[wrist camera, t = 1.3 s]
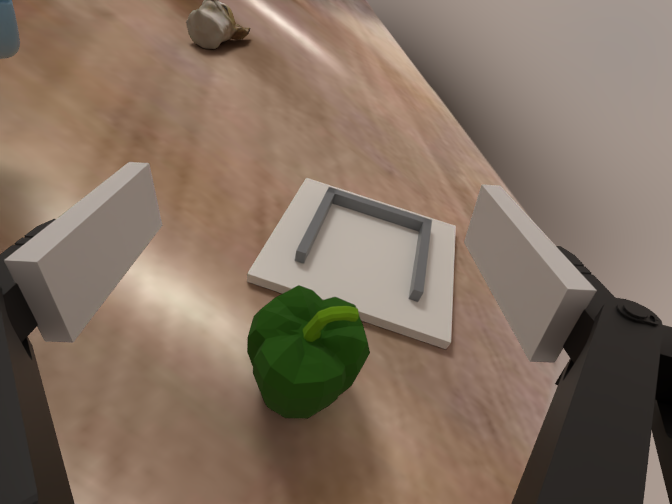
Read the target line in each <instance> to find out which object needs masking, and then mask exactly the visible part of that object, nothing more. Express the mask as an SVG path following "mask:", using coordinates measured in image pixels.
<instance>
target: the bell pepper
mask: <svg viewBox="0 0 672 504" xmlns="http://www.w3.org/2000/svg"><path fill="white" fill-rule="evenodd" d="M247 352H248V355H249V357H250V360H251V363H252V365H253V375H254V377H255V379H256V382H257V384H258V387H259V389H260V392H261V394H262V397H263V399H264V402H265V404H266V405H267V407H268V408H270V409H271V410H273V411H275V412H276V413H278V414H280V415H281V416H283V417H285V418H309V417H311V416H312V415H314V414H316V413H317V412H319V411H321V410H322V409H324V408H326V407H327V406H329V405H330V404H331V403H333V402H334V401H335V400H336V399H337V398H338V396H339V395H341V394H342V393H343V392H344V391H346V390H347V389H348V388H349V387H350V386H352V384H353V382H354V380H355V379H356V377H357V375H358V373H359V372H360V370H361V368H362V367H363V365H364V363H365V361H366V359H367V357H368V355H369V354H370V351H369V347H368V342H367V338H366V334H365V331H364V327H363V324H362V322H361V319H360V316H359V313H358V308H356V305H354V304H352V303H349V302H347V301H345V300H342V299H340V298H338V297H332V298H329V299H325V300H322V299H321V298H320V297H319V296H318V295H317V294H316V293H315V292H314V291H313V290H311V289H308V288H305V287H303V286H300V285H298V286H296V287H294V288H292V289H290V290H289V291H287V292H285V293H283V294H281V295H279V296H278V297H276V298H274V299H273V300H272V301H271V302H269V303H268V304H267V305H266V306H264V307H263V308H262V309H261V310H260V311H259V312H258V313H257V314H256V315H255V316H254V318H253V321H252V325H251V328H250V331H249V335H248V348H247Z"/></svg>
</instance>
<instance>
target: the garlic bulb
mask: <svg viewBox="0 0 672 504" xmlns="http://www.w3.org/2000/svg"><path fill="white" fill-rule="evenodd" d="M186 23H187V28H188V33H189V35H190V37H191V39H192V41H193V42H194V43H196V44H197V45H199V46H201V47H202V48H205V49H216V48H217V47H218V46H219V45H220V43H221V42H225V41H227V40H229V39H235V40H238V39H243V38H244V37H246V36H247V35H248V33H249V31H250V28H243V27H242V26H240V25H236V22H235V20H234V16H233V13H232V11H231V9H230V8H229V7H228V6H227V5H226V4H224V3H221V2H219V1H218V0H204V1H203V3H202V5H201V6H200V8H199V9H197V10H194V11H192V12H191V13H190V15H189V17H188V20H187V21H186Z"/></svg>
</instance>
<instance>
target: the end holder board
mask: <svg viewBox="0 0 672 504" xmlns="http://www.w3.org/2000/svg"><path fill="white" fill-rule="evenodd" d="M455 229H456V226H454V225H451V224H448V223H445V222H442V221H439V220H436V219H433V218H429V217H426V216H423V215H420V214H417V213H414V212H411V211H408V210H405V209H402V208H398V207H395V206H392V205H389V204H386V203H383V202H380V201H377V200H374V199H371V198H367V197H364V196H361V195H358V194H355V193H352V192H349V191H346V190H343V189H340V188H337V187H333V186H330V185H327V184H324V183H321V182H318V181H315V180H312V179H309V178H306V179H305V181H304V182H303V184H302V186H301V187H300V189H299V191H298V192H297V194H296V195H295V197H294V199H293V200H292V202H291V204H290V205H289V207H288V208H287V210H286V212H285V213H284V215H283V217H282V218H281V220H280V221H279V223H278V225H277V226H276V228H275V230H274V231H273V233H272V234H271V236H270V238H269V239H268V241H267V243H266V244H265V246H264V247H263V249H262V251H261V252H260V254H259V256H258V257H257V259H256V260H255V262H254V264H253V265H252V267H251V269H250V270H249V272H248V273H247V282H250V283H252V284H255V285H258V286H261V287H264V288H267V289H270V290H273V291H276V292H279V293H282V294H283V293H285V292H287V291H289V290H290V289H292V288H294V287H296V286H298V285H300V286H303V287H305V288H308V289H311V290H313V291H314V292H315V293H316V294H317V295H318V296H319V297H320V298H321V299H322V300H325V299H329V298H332V297H338V298H340V299H342V300H345V301H347V302H349V303H352V304H354V305H356V308H358V313H359V316H360V319H361V321H364V322H367V323H370V324H373V325H376V326H379V327H382V328H385V329H388V330H391V331H393V332H396V333H399V334H402V335H405V336H408V337H411V338H414V339H417V340H420V341H423V342H426V343H429V344H432V345H435V346H438V347H440V348H443V349H446V348H447V347H448V346H449V345H450V343H451V330H452V305H453V280H454V254H455Z"/></svg>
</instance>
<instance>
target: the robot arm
mask: <svg viewBox="0 0 672 504" xmlns="http://www.w3.org/2000/svg"><path fill="white" fill-rule="evenodd" d="M19 46H20V39H19V32H18V26H17V21H16V16H15V12H14V8H13V3H12V0H0V59H3V58H9V57H12V56H14V55H15V54H16V53H17V51H18V49H19ZM161 226H162V221H161V217H160V212H159V207H158V202H157V198H156V193H155V188H154V184H153V179H152V174H151V169H150V165H149V163H136V162H128V163H127V164H126V165H125V166H123V167H122V168H121V169H119V170H118V171H117V172H116V173H114V174H113V175H112V176H111V177H109V178H108V179H107V180H105V181H104V182H103V183H102V184H100V185H99V186H98V187H97V188H95V189H94V190H93V191H91V192H90V193H89V194H88V195H86V196H85V197H84V198H83V199H81V200H80V201H79V202H77V203H76V204H75V205H74V206H72V207H71V208H70V209H69V210H67V211H66V212H65V213H63V214H62V215H61V216H60V217H58V218H57V219H53V220H50V221H48V222H46V223H44V224H41V225H39V226H37V227H36V228H34V229H33V230H32V231H30V232H29V233H28V234H26V235H25V238H21V239H20V240H18V241H17V242H16V243H15V245H12V246H10V247H9V248H8V249H6V250H5V251H4V252H3V253H1V254H0V504H74V500H73V496H72V493H71V489H70V485H69V481H68V478H67V474H66V470H65V466H64V463H63V459H62V455H61V451H60V448H59V444H58V440H57V436H56V433H55V429H54V425H53V421H52V418H51V414H50V410H49V406H48V403H47V399H46V395H45V391H44V388H43V384H42V380H41V376H40V373H39V369H38V365H37V361H36V358H35V354H34V350H33V346H32V344H31V342H30V340H29V338H28V337H27V336H28V335H29V334H30V333H31V332H32V331H33V330H34V329H35V327H36V326H37V327H38V329H39V331H40V333H41V335H42V336H43V338H44V340H45V341H51V342H74V341H75V339H76V338H77V337H78V335H79V334H80V333H81V332H82V330H83V329H84V328H85V326H86V325H87V324H88V322H89V321H90V320H91V318H92V317H93V316H94V314H95V313H96V312H97V311H98V309H99V308H100V307H101V305H102V304H103V303H104V301H105V300H106V299H107V297H108V296H109V295H110V293H111V292H112V291H113V290H114V288H115V287H116V286H117V284H118V283H119V282H120V280H121V279H122V278H123V276H124V275H125V274H126V272H127V271H128V270H129V268H130V267H131V266H132V265H133V263H134V262H135V261H136V259H137V258H138V257H139V255H140V254H141V253H142V251H143V250H144V249H145V247H146V246H147V245H148V244H149V242H150V241H151V240H152V238H153V237H154V236H155V234H156V233H157V232H158V230H159V229H160V228H161ZM464 243H465V245H466V247H467V249H468V250H469V252H470V254H471V256H472V258H473V260H474V261H475V263H476V265H477V267H478V269H479V270H480V272H481V274H482V276H483V278H484V280H485V281H486V283H487V285H488V287H489V289H490V290H491V292H492V294H493V296H494V298H495V299H496V301H497V303H498V305H499V307H500V309H501V310H502V312H503V314H504V316H505V318H506V319H507V321H508V323H509V325H510V327H511V329H512V330H513V332H514V334H515V336H516V338H517V339H518V341H519V343H520V345H521V347H522V349H523V350H524V352H525V354H526V356H527V358H528V359H529V361H532V362H555V361H556V359H557V358H558V356H559V354H560V353H561V351H562V349H563V348H564V349H565V351H566V352H567V354H568V355H569V357H570V360H569V362H568V363H567V365H566V367H565V368H564V370H563V371H562V373H561V375H560V376H559V378H558V380H557V381H556V383H555V384H556V385H558V387H557V389H556V392H555V394H554V397H553V399H552V402H551V405H550V407H549V410H548V412H547V415H546V417H545V420H544V422H543V425H542V427H541V430H540V432H539V435H538V438H537V440H536V443H535V445H534V448H533V450H532V453H531V455H530V458H529V460H528V463H527V466H526V468H525V471H524V473H523V476H522V478H521V481H520V483H519V486H518V488H517V491H516V494H515V496H514V499H513V501H512V504H643V499H644V491H645V482H646V473H647V465H648V456H649V447H650V438H651V429H652V433H653V437H654V441H655V445H656V449H657V453H658V457H659V462H660V465H661V469H662V473H663V478H664V481H665V486H666V490H667V493H668V498H669V502H670V504H672V327H669V326H665V325H662V321H661V320H660V319H659V318H658V317H657V315H655V314H654V313H653V312H652V311H650V310H649V309H648V308H646V307H644V306H642V305H640V304H638V303H636V302H633V301H630V300H626V299H620V298H615V297H614V296H613V295H612V294H611V293H610V292H609V291H608V290H607V288H605V286H604V285H603V284H601V282H600V281H599V280H598V279H597V278H596V277H595V276H594V275H591V272H590V271H589V270H588V269H587V268H586V267H584V265H583V264H582V262H580V260H579V259H578V258H577V257H576V256H575V255H573V254H572V253H570V252H569V251H567V250H565V249H564V248H562V247H560V246H555V245H554V244H553V243H552V241H551V240H550V239H549V238H548V237H547V236H546V235H545V234H544V233H543V232H542V230H541V229H540V228H539V227H538V226H537V225H536V224H535V223H534V222H533V221H532V220H531V219H530V217H529V216H528V215H527V214H526V213H525V212H524V211H523V210H522V209H521V208H520V207H519V205H518V204H517V203H516V202H515V201H514V200H513V199H512V198H511V197H510V196H509V195H508V193H507V192H506V191H505V190H504V189H503V188H502V187H501V186H498V185H481V188H480V192H479V195H478V198H477V202H476V205H475V208H474V211H473V215H472V218H471V221H470V224H469V228H468V231H467V234H466V238H465V241H464Z"/></svg>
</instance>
